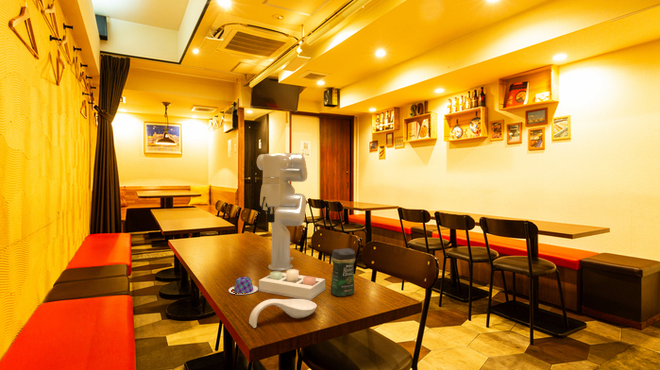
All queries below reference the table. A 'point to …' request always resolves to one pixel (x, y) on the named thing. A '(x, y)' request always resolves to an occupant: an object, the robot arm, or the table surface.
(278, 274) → the sage button
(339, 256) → the coffee jar
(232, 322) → the table surface
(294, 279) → the cream button
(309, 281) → the pink round cup
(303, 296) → the white compartment tray
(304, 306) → the spoon rest
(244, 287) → the pudding
